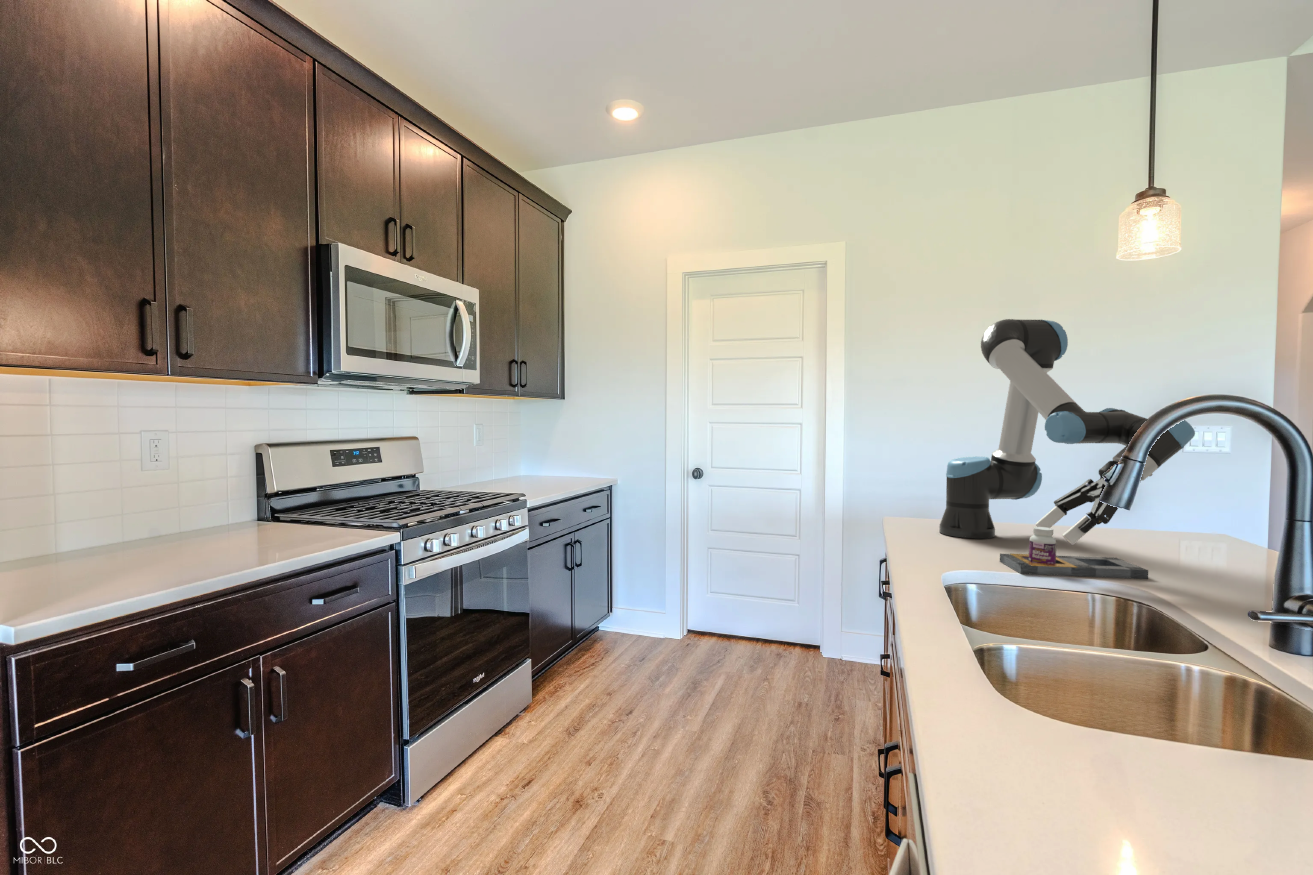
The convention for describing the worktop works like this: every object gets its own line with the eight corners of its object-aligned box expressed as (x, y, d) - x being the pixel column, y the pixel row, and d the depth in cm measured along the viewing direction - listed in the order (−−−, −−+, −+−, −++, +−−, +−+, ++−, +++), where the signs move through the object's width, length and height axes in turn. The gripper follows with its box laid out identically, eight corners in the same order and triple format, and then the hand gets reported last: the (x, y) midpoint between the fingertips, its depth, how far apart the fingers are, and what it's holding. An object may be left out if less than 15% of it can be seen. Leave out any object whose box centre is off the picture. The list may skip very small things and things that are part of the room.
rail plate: (999, 561, 150) (999, 553, 150) (1116, 565, 146) (1116, 557, 146) (1020, 573, 138) (1021, 564, 138) (1148, 579, 134) (1148, 569, 134)
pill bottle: (1030, 570, 142) (1031, 529, 141) (1026, 565, 147) (1027, 525, 146) (1058, 572, 140) (1059, 530, 139) (1052, 567, 145) (1053, 527, 144)
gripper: (1175, 489, 126) (1094, 558, 129) (1107, 476, 151) (1040, 535, 154) (1147, 463, 127) (1067, 532, 130) (1084, 455, 151) (1018, 513, 154)
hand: (1052, 534), depth 142 cm, fingers open, 13 cm apart
